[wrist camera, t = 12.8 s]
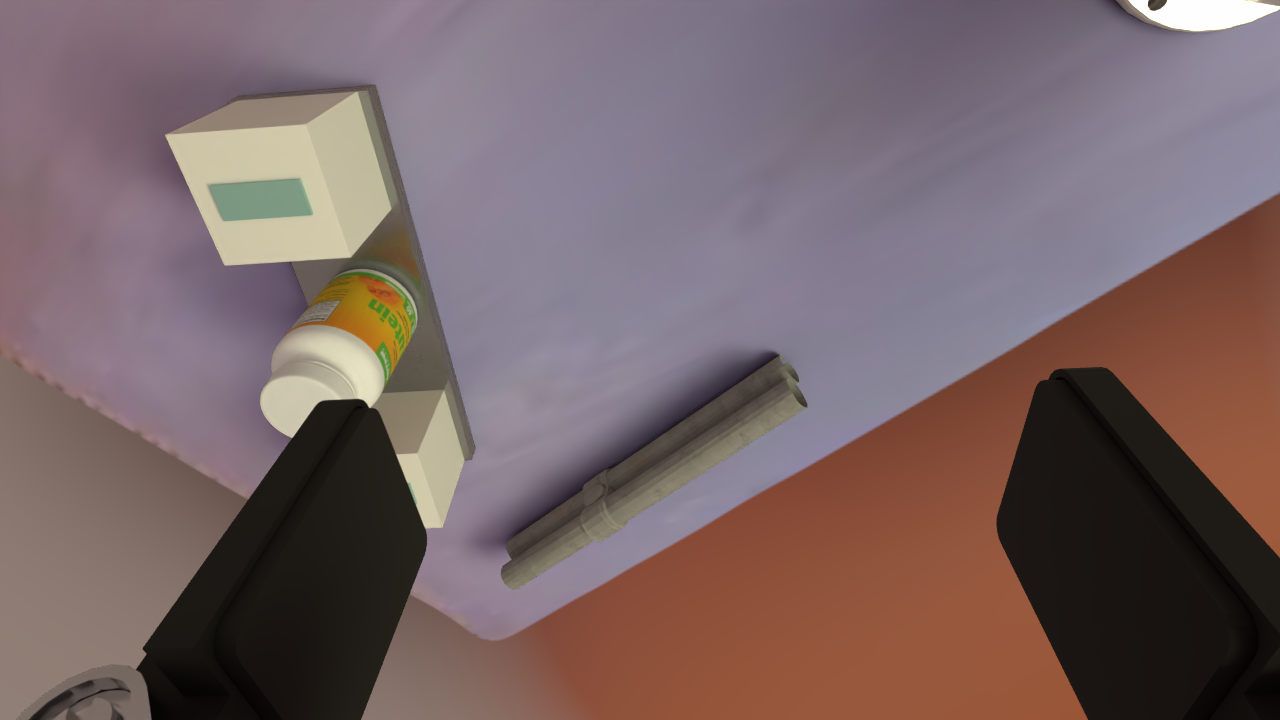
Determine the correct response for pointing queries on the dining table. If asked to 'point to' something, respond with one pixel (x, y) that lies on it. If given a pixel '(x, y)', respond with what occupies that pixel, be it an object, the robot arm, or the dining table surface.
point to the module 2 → (424, 448)
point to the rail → (393, 272)
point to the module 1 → (284, 177)
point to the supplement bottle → (339, 347)
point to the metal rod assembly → (656, 470)
